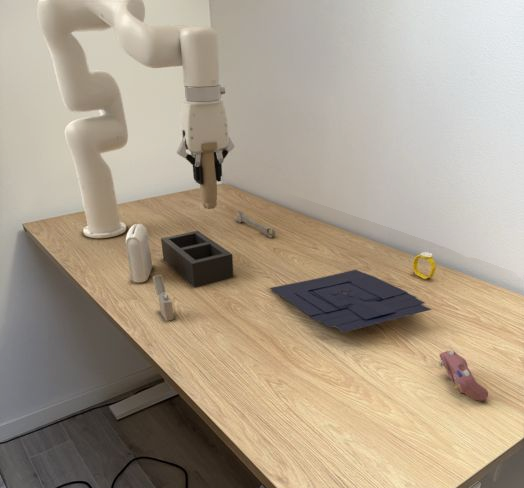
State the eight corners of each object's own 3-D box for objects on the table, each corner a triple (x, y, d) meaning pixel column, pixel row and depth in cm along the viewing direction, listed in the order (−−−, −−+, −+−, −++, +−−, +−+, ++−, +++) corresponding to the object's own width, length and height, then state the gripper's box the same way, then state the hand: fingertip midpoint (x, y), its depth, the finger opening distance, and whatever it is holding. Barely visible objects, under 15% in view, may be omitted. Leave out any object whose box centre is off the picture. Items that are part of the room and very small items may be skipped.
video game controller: (442, 376, 93) (431, 348, 89) (466, 365, 92) (456, 337, 88) (465, 411, 85) (453, 382, 81) (491, 400, 84) (481, 370, 80)
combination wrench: (275, 227, 147) (238, 207, 160) (271, 227, 146) (235, 208, 160) (275, 239, 149) (238, 219, 162) (271, 240, 148) (235, 220, 162)
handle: (215, 202, 126) (211, 137, 118) (223, 210, 121) (220, 143, 113) (196, 204, 125) (191, 139, 116) (204, 212, 120) (199, 145, 111)
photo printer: (137, 266, 133) (129, 219, 126) (153, 266, 133) (147, 219, 126) (130, 283, 124) (121, 234, 117) (147, 283, 124) (140, 234, 117)
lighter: (174, 319, 109) (169, 285, 105) (166, 321, 108) (161, 286, 104) (164, 305, 114) (159, 272, 110) (156, 306, 114) (152, 273, 110)
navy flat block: (335, 347, 96) (335, 330, 94) (269, 299, 121) (268, 284, 119) (438, 320, 104) (439, 303, 103) (356, 279, 129) (356, 265, 127)
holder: (163, 259, 136) (160, 238, 133) (199, 251, 141) (197, 230, 137) (194, 287, 122) (192, 263, 119) (233, 276, 126) (232, 254, 123)
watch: (408, 274, 126) (412, 251, 123) (416, 271, 127) (420, 248, 124) (427, 282, 122) (431, 259, 119) (435, 279, 123) (440, 256, 120)
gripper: (229, 90, 116) (232, 173, 126) (159, 95, 109) (168, 183, 119) (245, 93, 110) (247, 180, 120) (172, 100, 103) (181, 191, 113)
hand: (208, 180), depth 120 cm, fingers closed on handle, 3 cm apart
